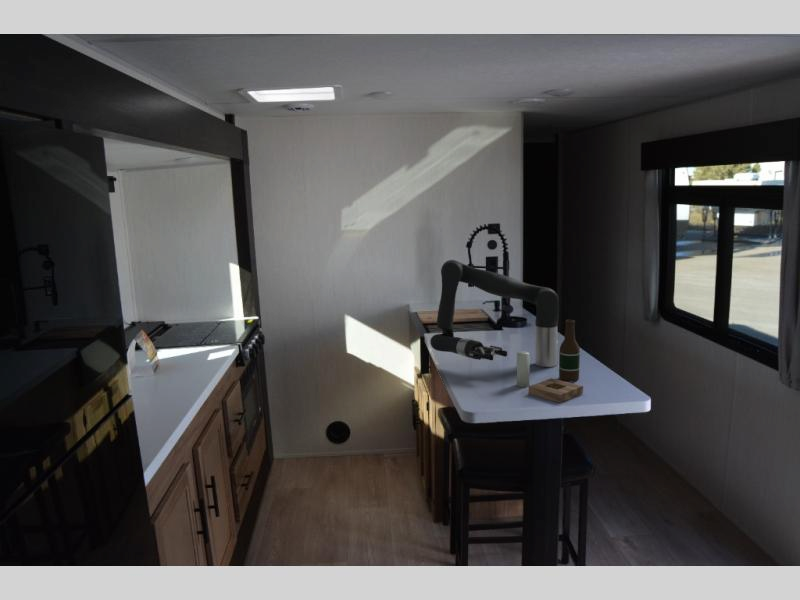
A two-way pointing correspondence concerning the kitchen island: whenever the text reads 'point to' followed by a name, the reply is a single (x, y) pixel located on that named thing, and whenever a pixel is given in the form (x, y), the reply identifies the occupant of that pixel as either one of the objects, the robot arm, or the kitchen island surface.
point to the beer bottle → (569, 355)
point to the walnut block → (556, 390)
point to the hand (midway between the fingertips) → (499, 355)
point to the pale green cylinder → (523, 368)
